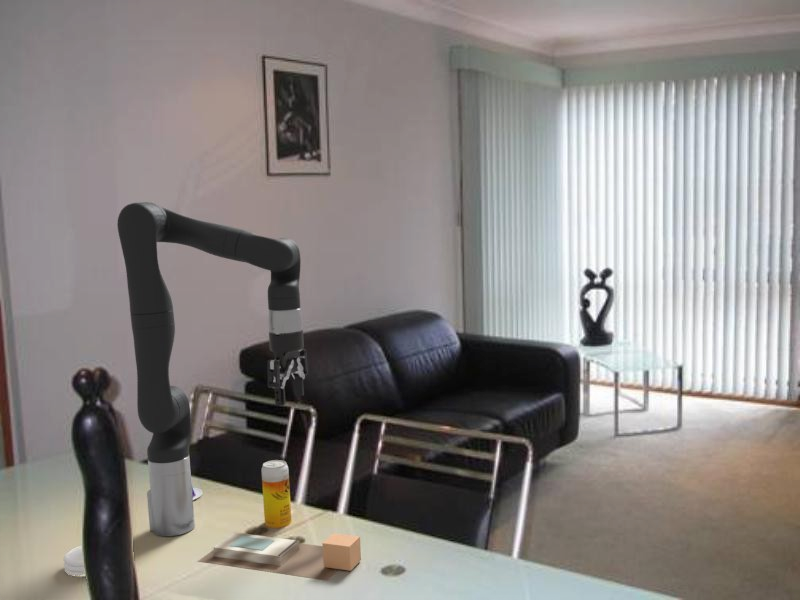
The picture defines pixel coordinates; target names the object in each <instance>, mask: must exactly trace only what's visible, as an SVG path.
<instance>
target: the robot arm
mask: <svg viewBox="0 0 800 600" xmlns="http://www.w3.org/2000/svg"><path fill="white" fill-rule="evenodd" d="M116 224H117V232H118V237H119V242H120V246H121V250H122V255H123V259H124V265H125V271H126V282H127V283H126V284H127V291H128V298H129V300H128V301H129V313H130V323H131V330H132V335H133V347H134V355H135V356H134V357H135V358H134V359H135V366H136V375H137V376H136V377H137V379H136V380H137V382H136V383H137V388H136V389H137V393H136V394H137V395H136V399H137V401H136V402H137V403H136V404H137V416H138V419H139V422H140V423H141V425H142V426H143V428H144V429H145V430H147V432H150V433H152V437H151V440H150V442H149V444H148V447H147V449H146V455H147V465H148V477H149V487H150V488H149V490H148V491H147V492H146V498H147V510H148V521H149V523H148V524H149V532H152V533H153V534H155V535H157V536H162V537H175V536H180V535H183V534H186V533H189V532H190V531H192V530H193V529H194V528H195V525H196V524H195V512H194V500H193V498H194V496H192V487H193V484H192V474H191V459H190V447H191V441H192V422H191V421H192V417H191V405H190V401H189V399H188V398H189V397H188V395H187V394H186V393H185V392H184V390H183V389H182V388H180V387H179V386H178V387H177V386H176V385H171V384H170V382H171V381H170V372H169V370H170V361H171V356H172V351H173V346H174V342H175V335H176V334H175V333H176V327H175V326H176V323H175V315H174V307H173V306H174V305H173V300H172V297H171V294H170V292H169V289H168V287H167V285H166V284H167V283H166V282H165V280H164V277H163V275H162V273H161V271H160V270H161V269H160V266H159V260H158V246H157V245H158V243H168V244H169V243H170V244H178V245H184V246H186V247H187V246H188V247H192V248H193V249H197V250H199V251H202V252H205V253H206V254H210V255H213V256H216V257H218V258H223V259H227V260H230V261H235V262H239V263H240V262H241V263H246V264H250V265H252V266H255V267H256V268H257V267H258V268H259V269H263V270H267V271H270V282H269V285H268V287H267V288H268V289H267V307H268V308H267V309H268V315H267V325H268V326H267V327H268V340H269V341H268V343H269V350H270V352H272V353H274V354H275V357H274V359H268V360H267V362H266V364H267V365H266V367H267V368H266V369H267V370H266V371H267V372H266V375H267V378H266V379H267V387H268V388H272V389H273V390H274V403H275V405H276V406H280V407H281V406H285V405H286V404H287V403H286V402H287V400H286V389H285V387H286V383H287V380H289V378H290V376H292V378H293V379H292V380H293V384H292V385H293V395H294V396H296V397H302V396H304V395H305V389H304V388H305V387H304V380H305V378H306V376H307V375H308V374H309V363H308V353H307V351H308V350H307V349H305V348H304V347H305V344H304V343H305V342H304V328H303V327H304V326H303V325H304V324H303V315H302V310H301V294H300V277H301V260H302V259H301V252H300V248H299V246H298V244H297V243H296V242H295V241H294V240H293V239H291V238H288V237H282V238H273V237H272V238H271V237H267V236H262V235H257V234H256V233H255V232H253V231H249V230H246V229H243V228H242V229H241V228H238V227H237V228H236V227H233V226H228V225H223V224H219V223H214V222H209V221H203V220H199V219H195V218H192V217H189V216H185V215H182V214H179V213H177V212H174V211H173V210H169V209H167V208H165V207H163V206H160V205H158V204H156V203H153V202H150V201H149V202H148V201H147V202H145V201H143V202H133V203H130V204H127V205H125V206H124V207H122V209H121V210H120V212H119V215H118V217H117V222H116Z"/></svg>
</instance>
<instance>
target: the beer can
mask: <svg viewBox="0 0 800 600" xmlns="http://www.w3.org/2000/svg"><path fill="white" fill-rule="evenodd" d="M260 470H261V486H262V497H263V498H262V499H263V514H264V515H263V516H264V525H265V526H266V527H267V528H273V529H278V528H283V527H284V528H285V527H286V526H288V525H290V524H291V523H292V509H291V508H292V505H291V493H290V492H291V490H290V475H289V473H290V472H289V471H290V470H289V466H288V464H287V462H286V461H285V460H282V459H280V460H279V459H274V460H273V459H272V460H268V461H266V462H263V463H262V467H261V469H260Z"/></svg>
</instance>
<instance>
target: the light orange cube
mask: <svg viewBox="0 0 800 600" xmlns="http://www.w3.org/2000/svg"><path fill="white" fill-rule="evenodd" d="M321 546H323V563H324V567H328V568H335V569H338V570H344V571H350V572H351V571H352V570H353V569H354V568H355V567H356V566H357V565H358V564H359V563H360V562H361V561H362V551H361V550H362V549H361V548H362V547H361V536H357V535H350V534H342V533H332V534H331V535H330V536H329V537H327V539H325V540H324V541H323V542H322V545H321Z"/></svg>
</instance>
